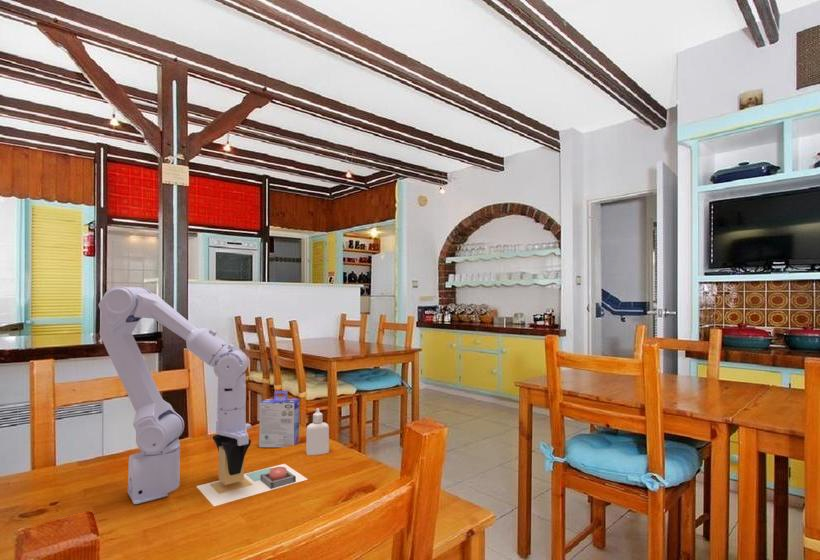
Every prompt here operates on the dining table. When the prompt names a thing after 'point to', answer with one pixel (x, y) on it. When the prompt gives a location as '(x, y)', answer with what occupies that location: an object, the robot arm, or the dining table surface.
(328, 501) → the dining table surface
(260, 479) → the white board with squares
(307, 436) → the eye dropper bottle
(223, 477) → the ochre block
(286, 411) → the ink cartridge box
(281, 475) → the button
